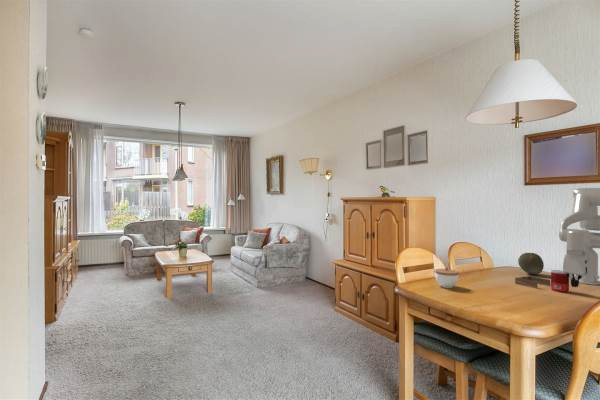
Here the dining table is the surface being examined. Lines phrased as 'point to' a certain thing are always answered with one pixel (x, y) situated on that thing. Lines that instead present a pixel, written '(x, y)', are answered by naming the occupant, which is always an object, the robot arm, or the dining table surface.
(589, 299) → the dining table surface
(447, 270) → the lidded bowl
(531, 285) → the corral
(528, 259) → the cantaloupe
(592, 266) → the robot arm
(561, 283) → the canned food
